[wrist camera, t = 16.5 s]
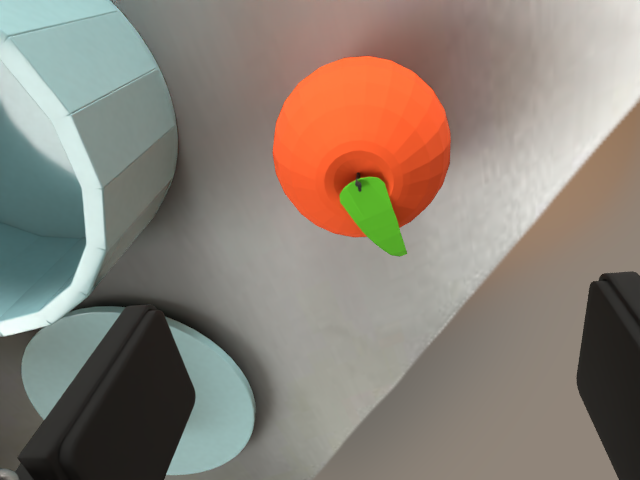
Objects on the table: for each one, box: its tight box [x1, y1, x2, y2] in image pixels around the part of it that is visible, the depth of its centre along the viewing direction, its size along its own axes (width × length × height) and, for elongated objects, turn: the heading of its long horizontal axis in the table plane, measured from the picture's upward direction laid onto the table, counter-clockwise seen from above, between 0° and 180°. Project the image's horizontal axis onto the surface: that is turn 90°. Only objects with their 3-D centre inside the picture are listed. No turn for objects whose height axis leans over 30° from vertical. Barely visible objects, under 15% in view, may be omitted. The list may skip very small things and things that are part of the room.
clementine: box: [273, 56, 451, 256], centre depth 19 cm, size 8×7×7 cm
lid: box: [21, 306, 256, 475], centre depth 30 cm, size 16×16×6 cm
